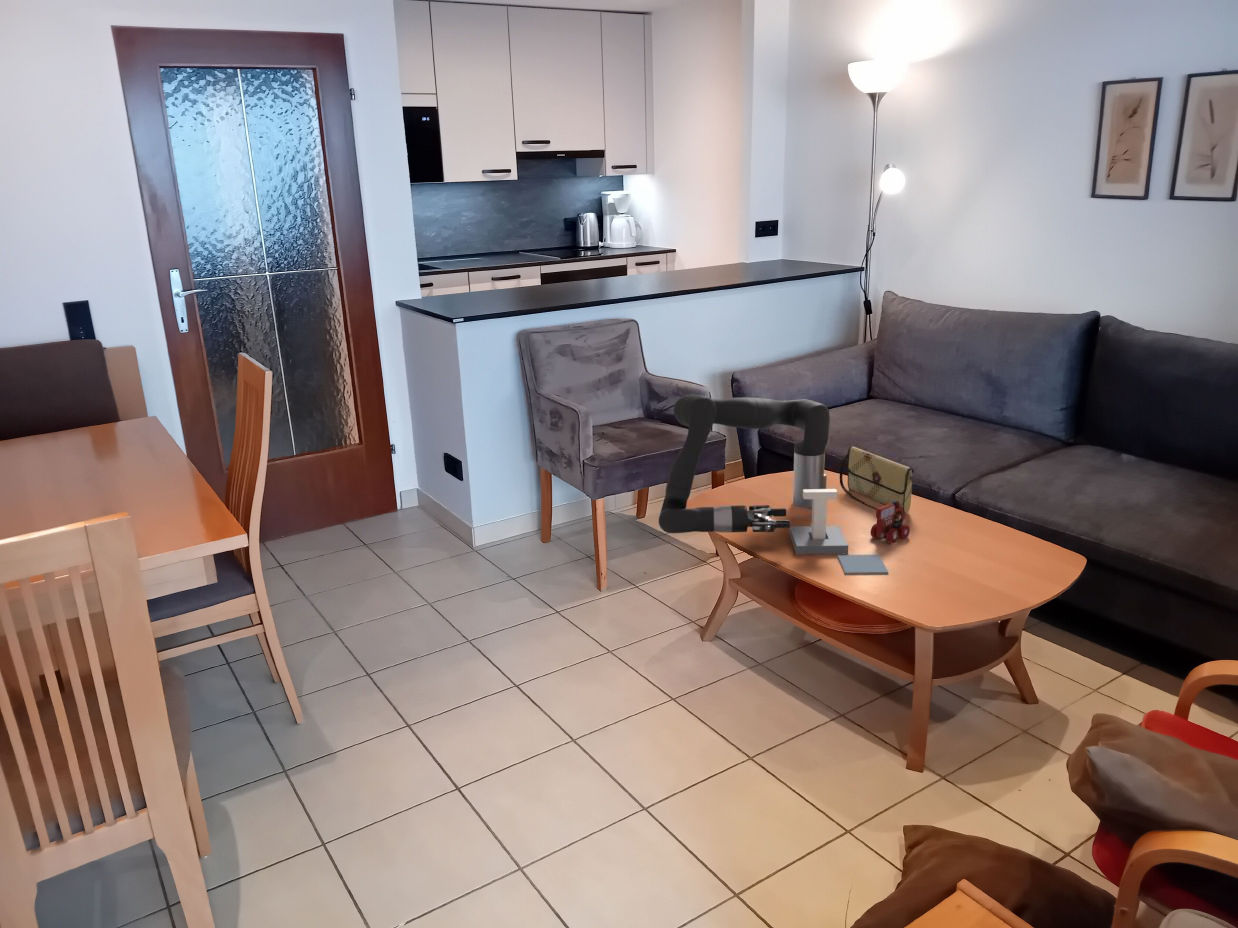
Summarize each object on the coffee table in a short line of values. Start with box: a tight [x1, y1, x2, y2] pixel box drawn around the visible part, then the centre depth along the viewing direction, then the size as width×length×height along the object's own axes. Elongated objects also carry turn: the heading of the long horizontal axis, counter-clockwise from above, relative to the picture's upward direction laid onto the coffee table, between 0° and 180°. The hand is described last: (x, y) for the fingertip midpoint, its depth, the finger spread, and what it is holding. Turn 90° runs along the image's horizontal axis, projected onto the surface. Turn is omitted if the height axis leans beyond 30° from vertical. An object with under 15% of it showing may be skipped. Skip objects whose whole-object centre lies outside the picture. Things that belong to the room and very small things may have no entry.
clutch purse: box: [839, 445, 914, 515], centre depth 273 cm, size 30×7×15 cm, turn 26°
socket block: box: [789, 525, 849, 556], centre depth 247 cm, size 14×14×2 cm
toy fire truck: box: [870, 501, 911, 544], centre depth 248 cm, size 7×12×10 cm, turn 128°
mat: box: [837, 553, 889, 575], centre depth 233 cm, size 11×11×1 cm
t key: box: [803, 488, 838, 539], centre depth 245 cm, size 9×3×16 cm, turn 87°
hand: (788, 517), depth 245 cm, fingers open, 8 cm apart
